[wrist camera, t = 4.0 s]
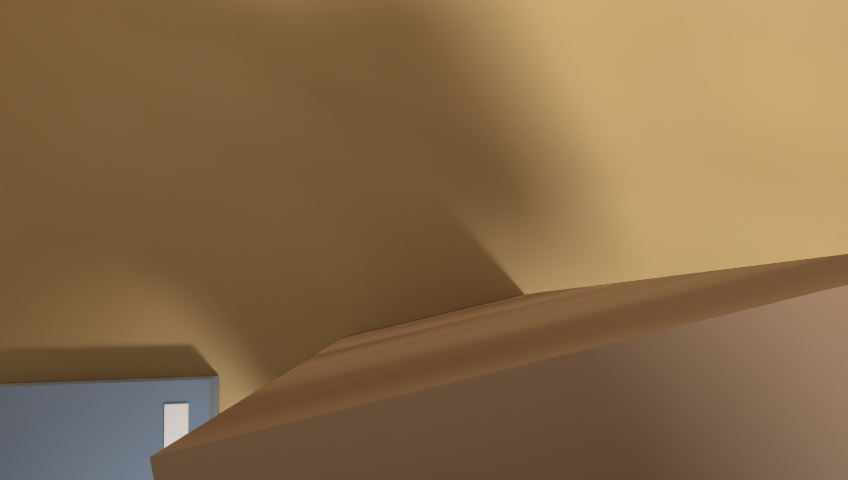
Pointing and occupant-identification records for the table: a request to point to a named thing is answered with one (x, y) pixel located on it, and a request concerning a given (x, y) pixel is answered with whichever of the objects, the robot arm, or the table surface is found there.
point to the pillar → (564, 390)
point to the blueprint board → (98, 425)
